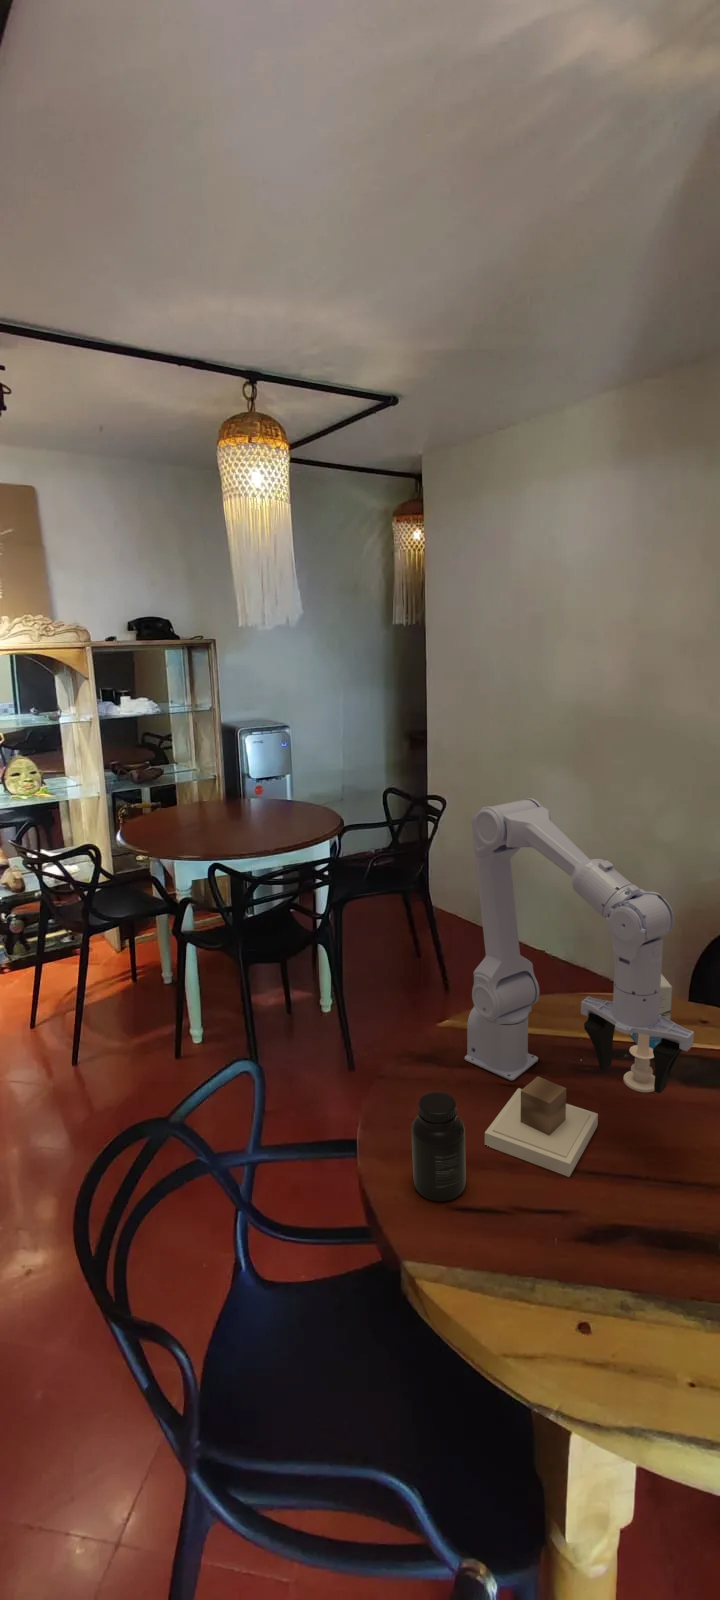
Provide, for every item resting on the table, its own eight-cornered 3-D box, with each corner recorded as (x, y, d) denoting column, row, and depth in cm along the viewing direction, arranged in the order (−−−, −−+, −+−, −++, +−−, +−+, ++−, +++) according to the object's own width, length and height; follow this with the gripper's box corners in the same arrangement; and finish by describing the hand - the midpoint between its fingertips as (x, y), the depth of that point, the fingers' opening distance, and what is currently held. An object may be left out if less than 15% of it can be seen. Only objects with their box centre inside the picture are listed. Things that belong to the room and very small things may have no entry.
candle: (653, 1073, 121) (657, 1013, 118) (663, 1093, 116) (667, 1031, 113) (619, 1072, 121) (622, 1013, 119) (627, 1092, 116) (630, 1030, 114)
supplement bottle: (470, 1171, 101) (470, 1091, 98) (459, 1208, 95) (459, 1124, 92) (420, 1161, 103) (418, 1083, 100) (406, 1197, 97) (404, 1114, 94)
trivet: (484, 1145, 106) (484, 1131, 105) (518, 1099, 115) (518, 1086, 115) (569, 1177, 99) (569, 1162, 99) (597, 1126, 109) (598, 1112, 108)
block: (520, 1122, 107) (520, 1090, 106) (537, 1106, 110) (537, 1076, 109) (549, 1135, 104) (549, 1103, 103) (565, 1119, 107) (566, 1088, 106)
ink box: (669, 1050, 127) (673, 986, 124) (639, 1051, 127) (643, 986, 124) (651, 1024, 135) (654, 963, 132) (623, 1025, 135) (626, 963, 132)
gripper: (570, 979, 101) (568, 1070, 104) (680, 1015, 91) (674, 1114, 95) (596, 961, 106) (593, 1049, 109) (702, 993, 96) (696, 1088, 99)
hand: (632, 1078), depth 102 cm, fingers open, 7 cm apart
